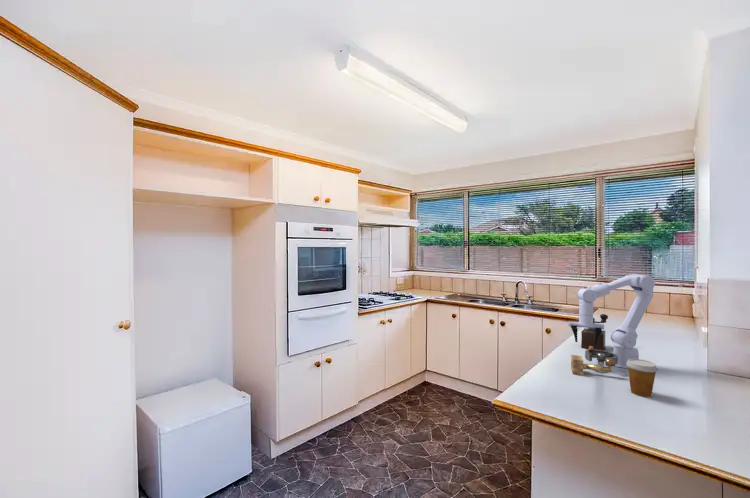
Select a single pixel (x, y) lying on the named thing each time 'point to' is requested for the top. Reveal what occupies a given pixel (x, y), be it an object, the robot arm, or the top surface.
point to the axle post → (601, 363)
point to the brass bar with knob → (608, 362)
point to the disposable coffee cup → (641, 376)
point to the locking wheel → (599, 355)
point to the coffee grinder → (589, 336)
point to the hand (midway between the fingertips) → (585, 342)
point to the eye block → (577, 364)
